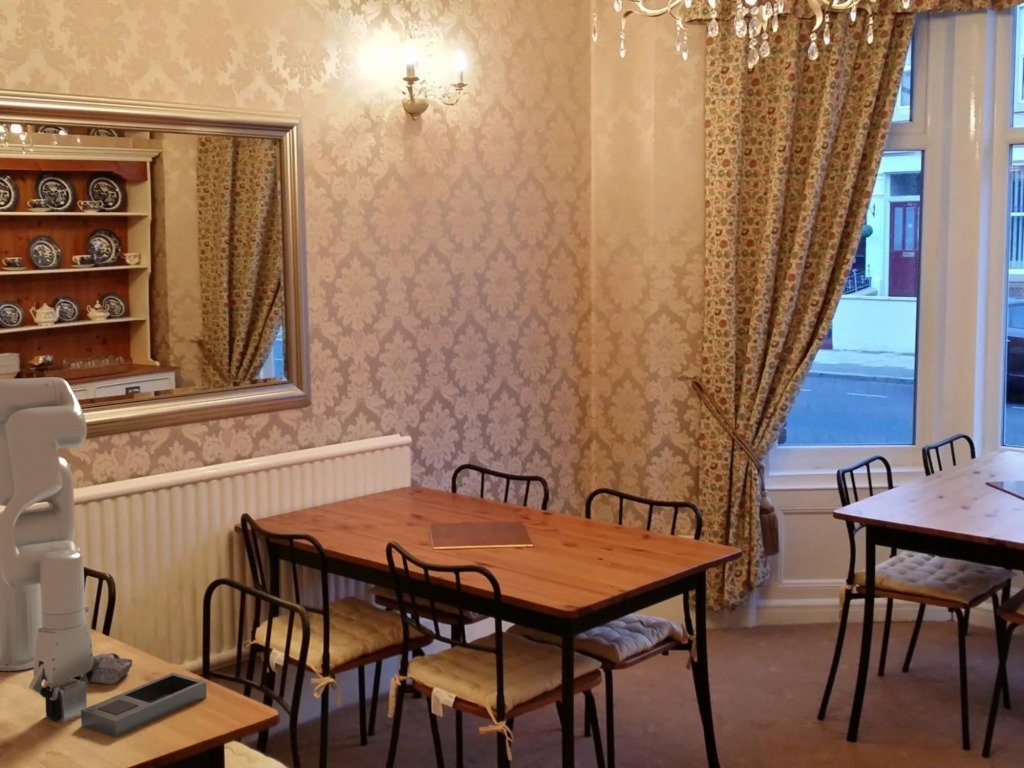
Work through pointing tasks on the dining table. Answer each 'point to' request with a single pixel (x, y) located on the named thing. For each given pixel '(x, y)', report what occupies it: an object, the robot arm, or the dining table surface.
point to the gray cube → (71, 699)
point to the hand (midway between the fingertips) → (66, 712)
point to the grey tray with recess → (143, 704)
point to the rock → (110, 668)
